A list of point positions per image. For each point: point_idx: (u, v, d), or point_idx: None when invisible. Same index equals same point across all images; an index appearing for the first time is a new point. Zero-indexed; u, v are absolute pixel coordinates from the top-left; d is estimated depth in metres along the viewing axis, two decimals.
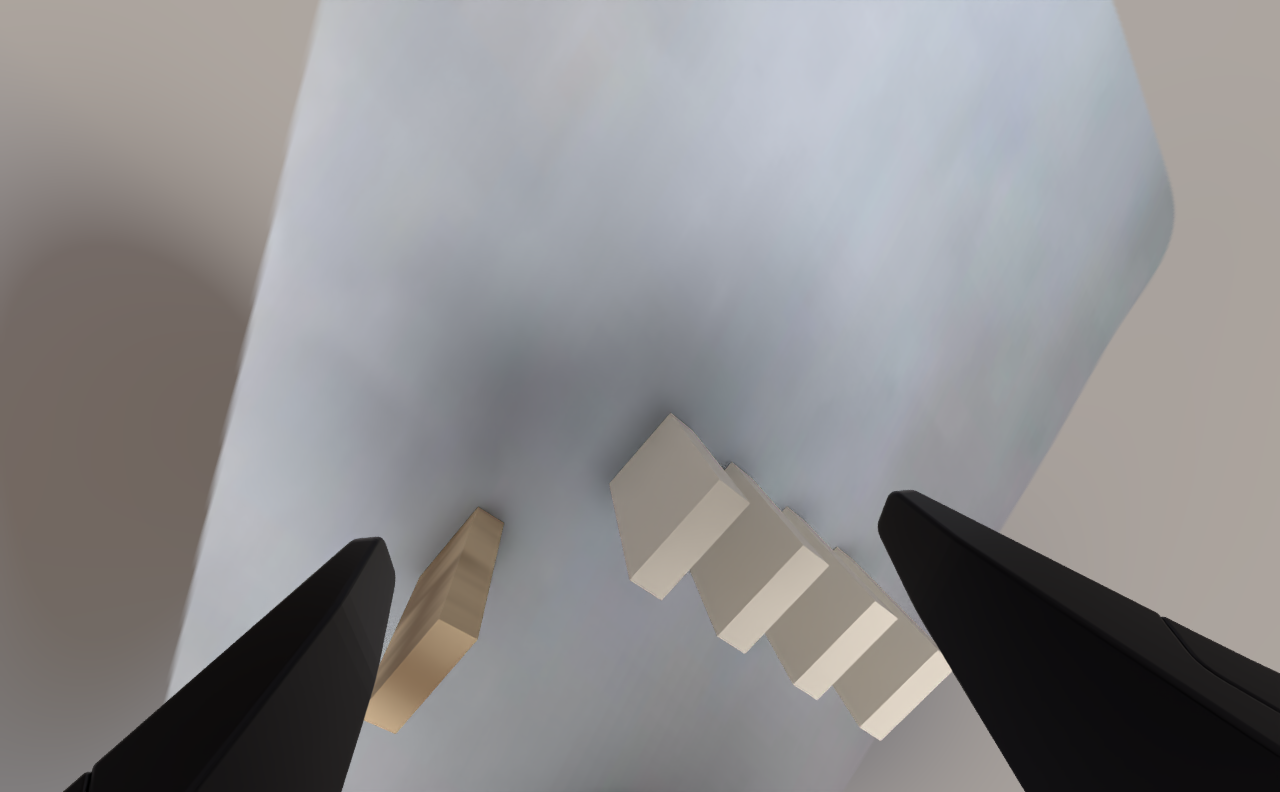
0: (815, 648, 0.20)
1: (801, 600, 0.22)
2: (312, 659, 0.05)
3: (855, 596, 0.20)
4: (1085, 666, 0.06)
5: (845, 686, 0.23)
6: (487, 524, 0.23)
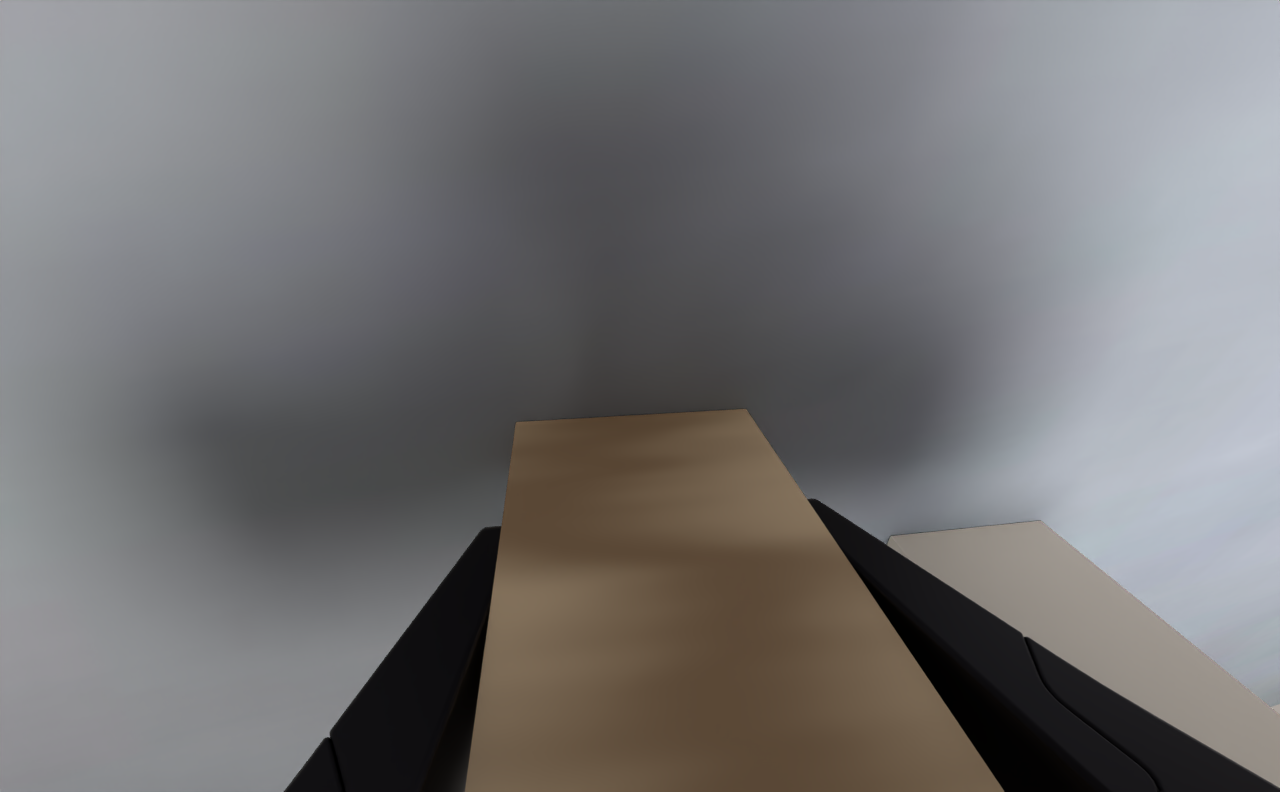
0: None
1: None
2: (484, 639, 0.06)
3: None
4: (942, 688, 0.05)
5: None
6: None
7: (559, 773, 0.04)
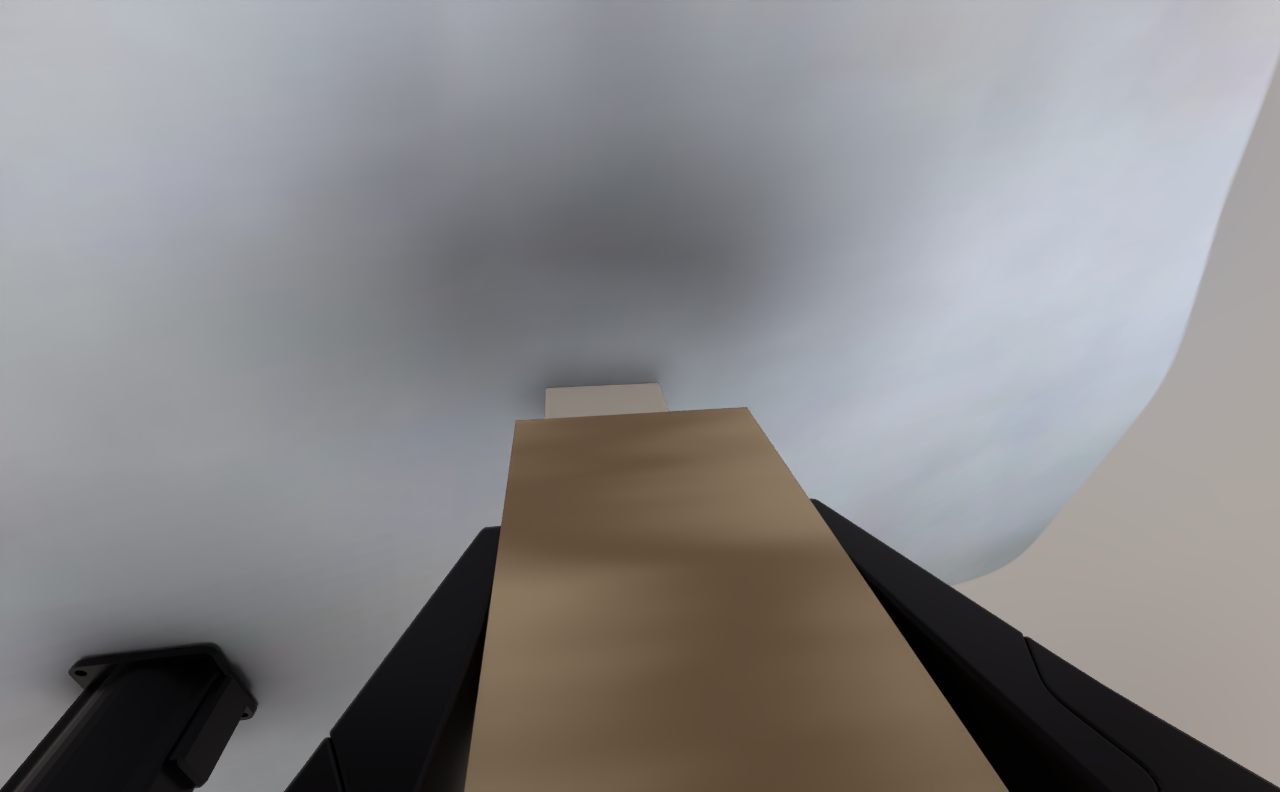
0: None
1: None
2: (484, 639, 0.06)
3: None
4: (942, 689, 0.05)
5: None
6: None
7: (559, 772, 0.04)
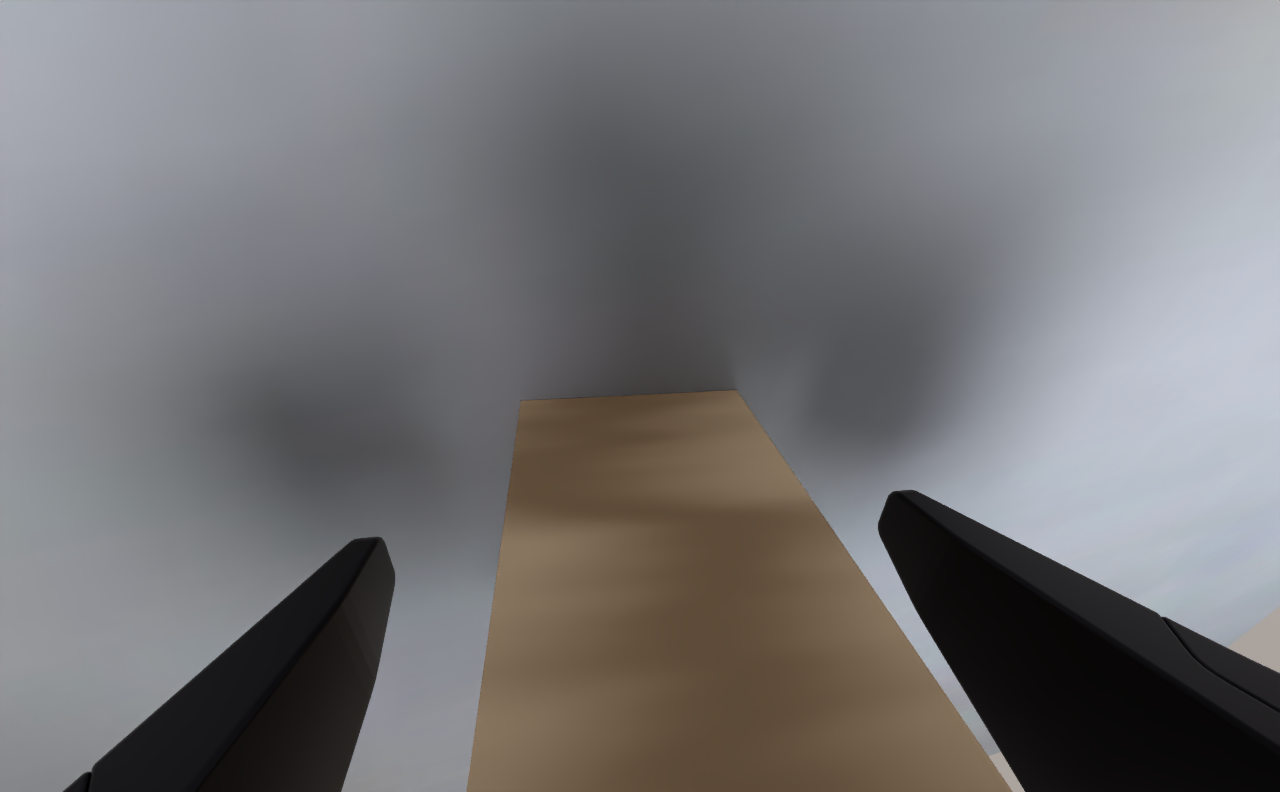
0: None
1: None
2: (311, 659, 0.05)
3: None
4: (1085, 666, 0.06)
5: None
6: None
7: (561, 683, 0.05)
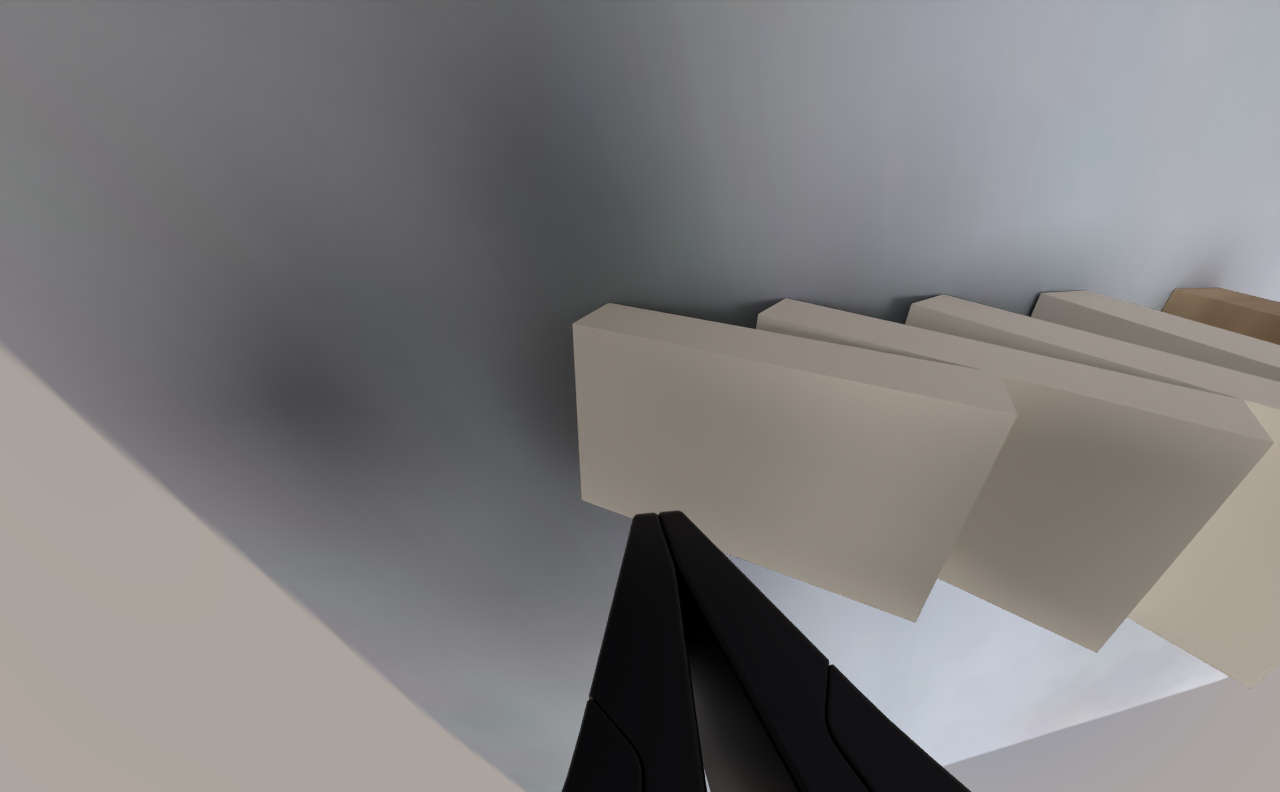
0: None
1: None
2: (680, 616, 0.06)
3: None
4: (739, 721, 0.05)
5: None
6: None
7: None
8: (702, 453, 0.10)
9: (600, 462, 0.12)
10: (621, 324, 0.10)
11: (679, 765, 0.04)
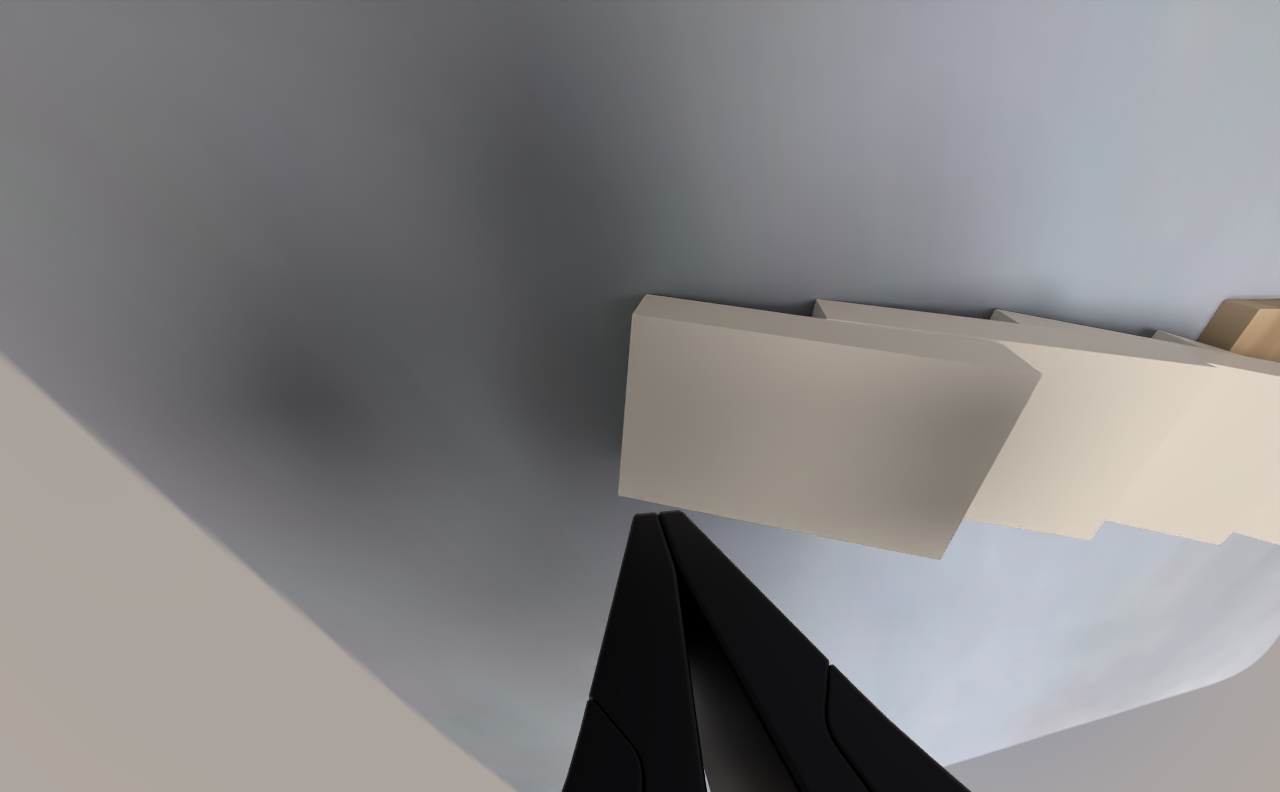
0: None
1: None
2: (680, 615, 0.06)
3: None
4: (739, 721, 0.05)
5: None
6: None
7: None
8: (759, 433, 0.11)
9: (645, 454, 0.12)
10: (679, 313, 0.10)
11: (679, 765, 0.04)
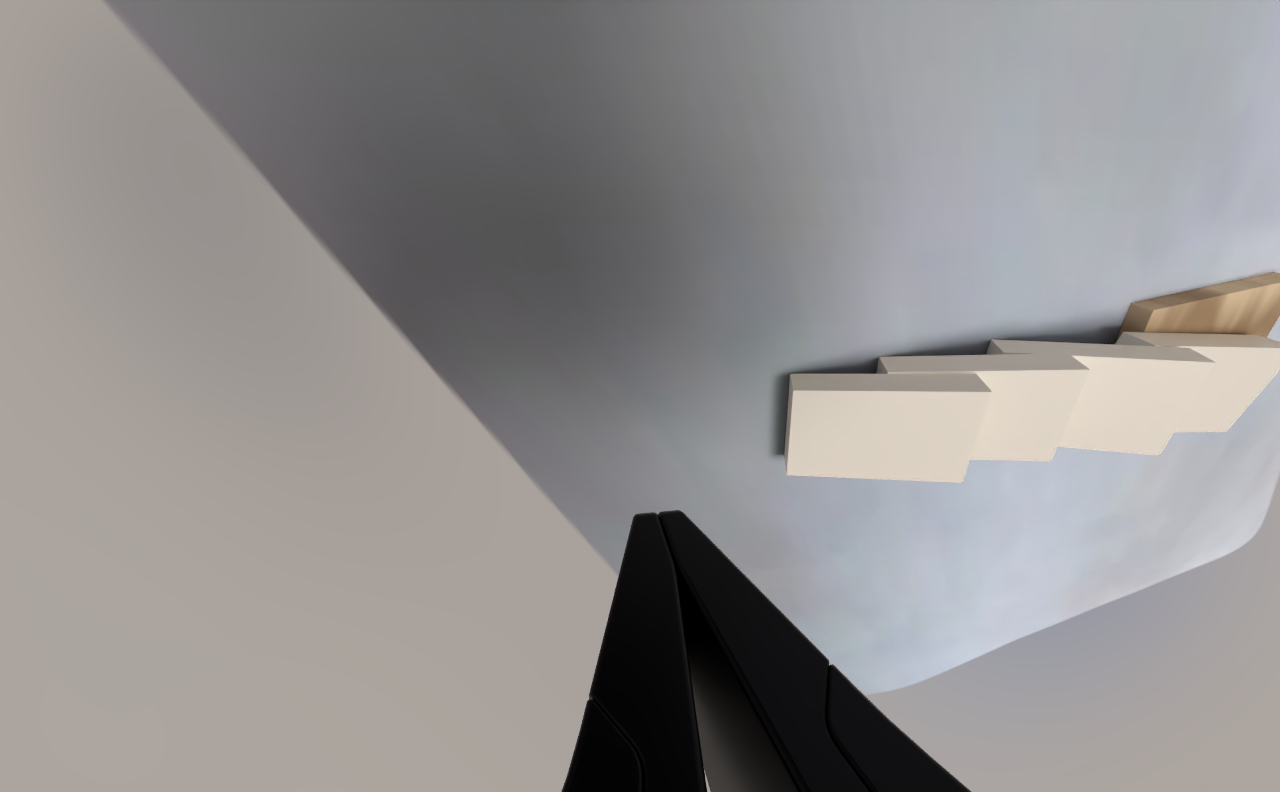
0: None
1: None
2: (680, 616, 0.06)
3: None
4: (739, 721, 0.05)
5: None
6: None
7: None
8: (860, 434, 0.22)
9: (801, 452, 0.23)
10: (813, 385, 0.22)
11: (679, 765, 0.04)
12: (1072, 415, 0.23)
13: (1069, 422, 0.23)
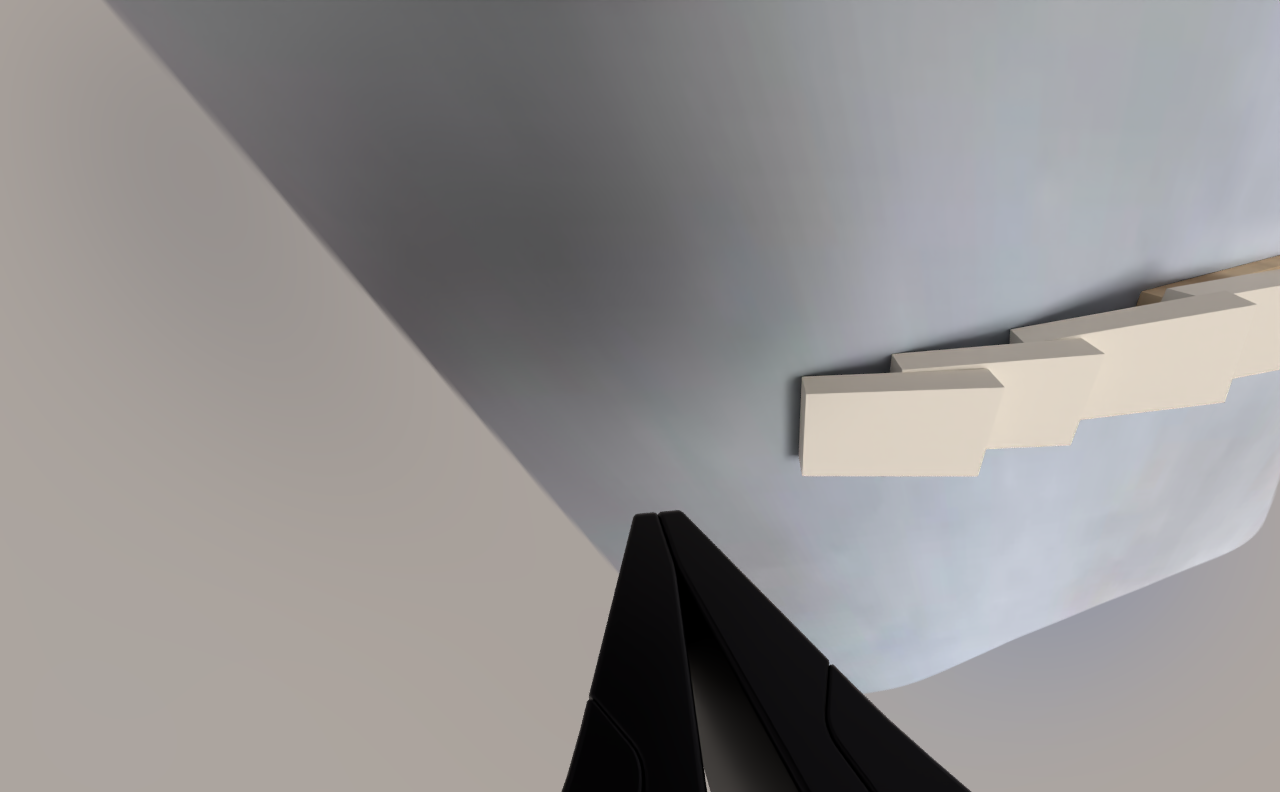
0: None
1: None
2: (680, 615, 0.06)
3: None
4: (739, 721, 0.05)
5: None
6: None
7: None
8: (874, 434, 0.22)
9: (816, 453, 0.23)
10: (826, 388, 0.22)
11: (679, 765, 0.04)
12: (1117, 384, 0.22)
13: (1115, 391, 0.23)
